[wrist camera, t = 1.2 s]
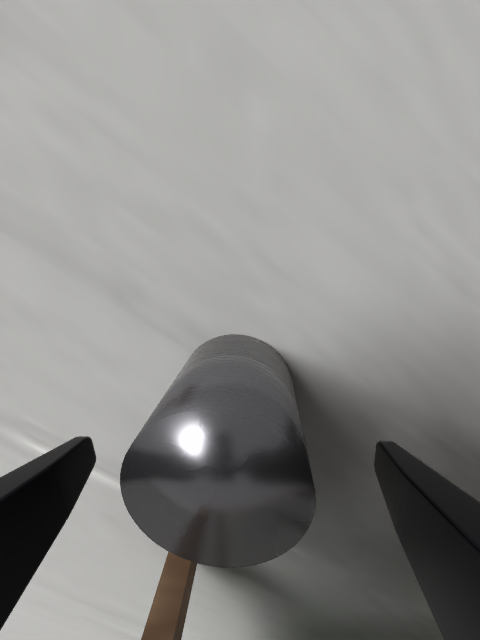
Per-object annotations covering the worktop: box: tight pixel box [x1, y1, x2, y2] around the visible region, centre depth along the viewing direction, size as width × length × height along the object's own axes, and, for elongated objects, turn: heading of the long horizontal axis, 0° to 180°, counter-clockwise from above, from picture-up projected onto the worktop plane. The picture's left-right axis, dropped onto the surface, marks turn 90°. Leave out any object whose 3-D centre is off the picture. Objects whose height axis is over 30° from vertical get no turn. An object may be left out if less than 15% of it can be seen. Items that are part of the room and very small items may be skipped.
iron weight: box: [120, 335, 316, 568], centre depth 9 cm, size 5×5×6 cm
